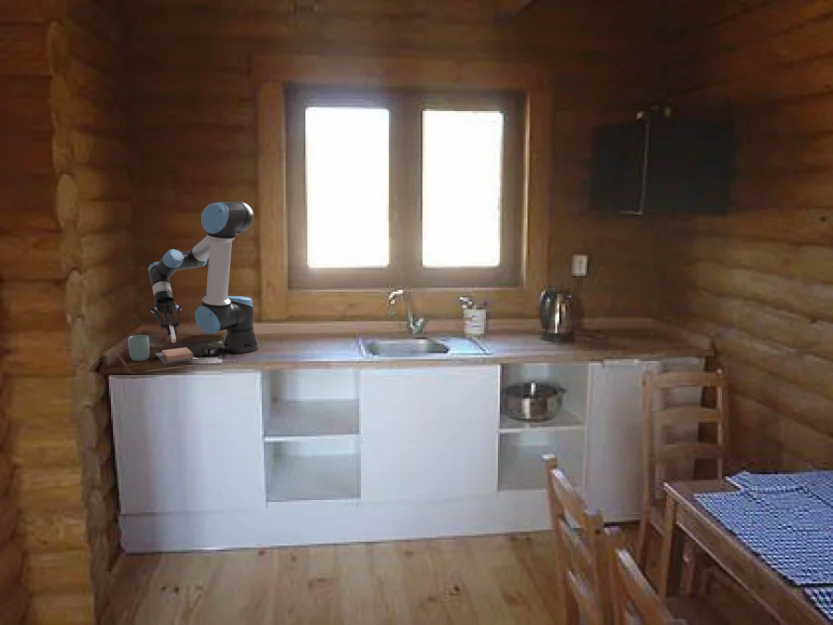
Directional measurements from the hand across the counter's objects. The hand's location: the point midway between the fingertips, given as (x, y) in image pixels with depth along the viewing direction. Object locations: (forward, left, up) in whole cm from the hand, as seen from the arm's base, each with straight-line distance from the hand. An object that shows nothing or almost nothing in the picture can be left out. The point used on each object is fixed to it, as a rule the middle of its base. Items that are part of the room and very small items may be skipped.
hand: (174, 340), depth 308 cm
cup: (+12, +6, -8) cm, 16 cm away
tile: (+1, -3, -5) cm, 6 cm away
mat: (-1, 0, -7) cm, 7 cm away
